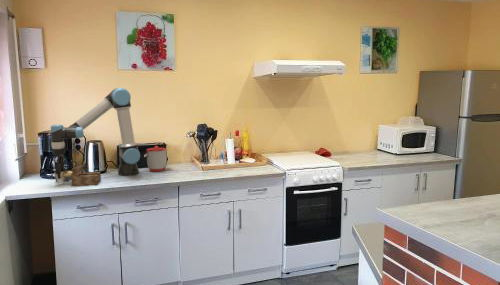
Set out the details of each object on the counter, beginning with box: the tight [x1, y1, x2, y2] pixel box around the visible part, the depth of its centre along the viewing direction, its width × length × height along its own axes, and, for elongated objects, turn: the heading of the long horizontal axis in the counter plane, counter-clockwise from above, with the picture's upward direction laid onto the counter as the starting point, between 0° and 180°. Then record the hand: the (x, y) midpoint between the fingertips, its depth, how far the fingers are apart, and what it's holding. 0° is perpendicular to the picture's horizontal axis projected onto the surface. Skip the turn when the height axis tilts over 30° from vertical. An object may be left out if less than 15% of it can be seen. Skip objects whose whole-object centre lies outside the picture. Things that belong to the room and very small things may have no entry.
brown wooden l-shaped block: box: [70, 164, 102, 187], centre depth 251 cm, size 16×12×12 cm
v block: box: [55, 169, 72, 183], centre depth 260 cm, size 8×8×6 cm
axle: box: [53, 170, 82, 179], centre depth 249 cm, size 16×4×4 cm, turn 101°
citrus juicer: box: [143, 145, 168, 173], centre depth 290 cm, size 16×17×20 cm
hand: (60, 182), depth 248 cm, fingers closed on axle, 4 cm apart
